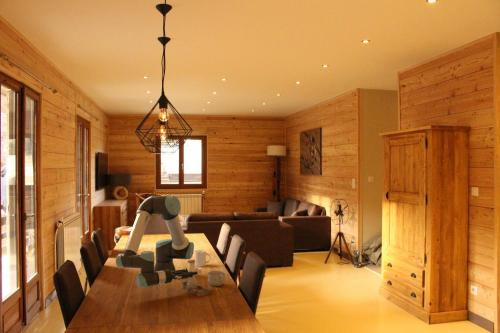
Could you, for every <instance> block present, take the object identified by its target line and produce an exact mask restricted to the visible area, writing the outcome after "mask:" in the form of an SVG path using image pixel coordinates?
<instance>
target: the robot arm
mask: <svg viewBox="0 0 500 333" xmlns="http://www.w3.org/2000/svg"><path fill="white" fill-rule="evenodd" d="M180 212H181V202H180V199H179V197H177V196H175V195H174V196H173V195H150V196H148V197H147V198H145V199H144V200H143V201H142V202H141V203H140V204H139V206H138V208H137V209H136V211H135V215H136V217H135V220H134V222H133V225H132V228H131V230H130V233H129V237H128V239H127V242H126V243H125V246H124V249H123V251H122V253H119V254H117V256H116V257H115V264H116V266H117V267H118V268H124V269H126V268H127V269H140V273H139V274H137V275H136V277H135V282H136V285H137V287H138V288H141V289H142V288H148V287H153V286H160V285H164V284H169V283H171V282H173V280H178V281H179V280H182V279H188V278H189V277H193V276H194V275H195V276H199V275H202V274H203V273H202V272H203V271H202V269H199V268H198V267H195V271H191V272H188V267H185V268H183V269H177V270H176V267H175V264H174V260H192V258H193V255H194V251H195V244H194V242H192V241H190V240H189V238H188V237H186V235H185V232H184V230H183V227H182V223H181V221H180V218H179V214H180ZM154 215H160V218H161V219H162V220H163V221H165V224H166V227H167V229H168V232H169V235H170V237H171V238H165V239H161V240H158V241H156V243H155V249H154V250H155V253H154V251H152V250H145V251H141V252H140V254H137V253H138V251H139V248H140V245H141V242H142V239H143V237H144V234H145V231H146V230H147V228H146V227H147V225H148V223H149V220H151V219H152V217H153V216H154Z"/></svg>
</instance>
